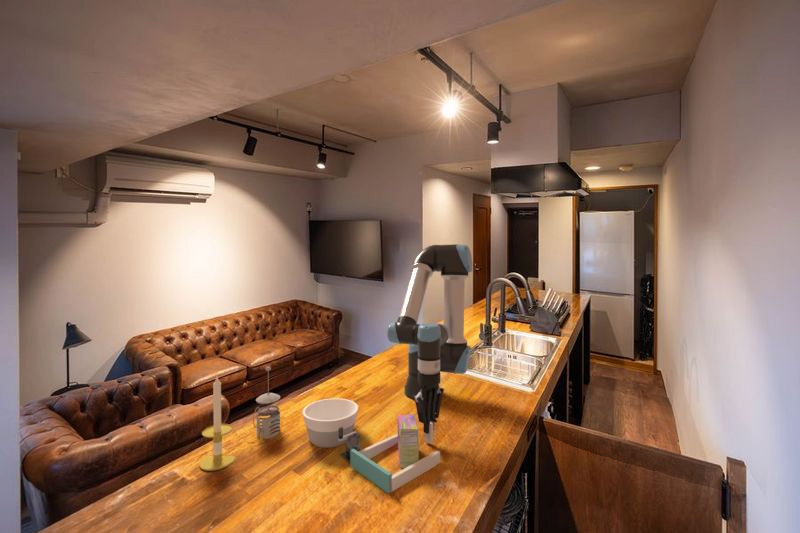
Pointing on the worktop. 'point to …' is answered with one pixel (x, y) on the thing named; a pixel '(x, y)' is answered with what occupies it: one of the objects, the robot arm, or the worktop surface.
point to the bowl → (329, 420)
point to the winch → (349, 442)
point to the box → (407, 440)
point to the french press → (268, 413)
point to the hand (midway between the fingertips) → (428, 441)
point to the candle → (216, 435)
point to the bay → (382, 476)
